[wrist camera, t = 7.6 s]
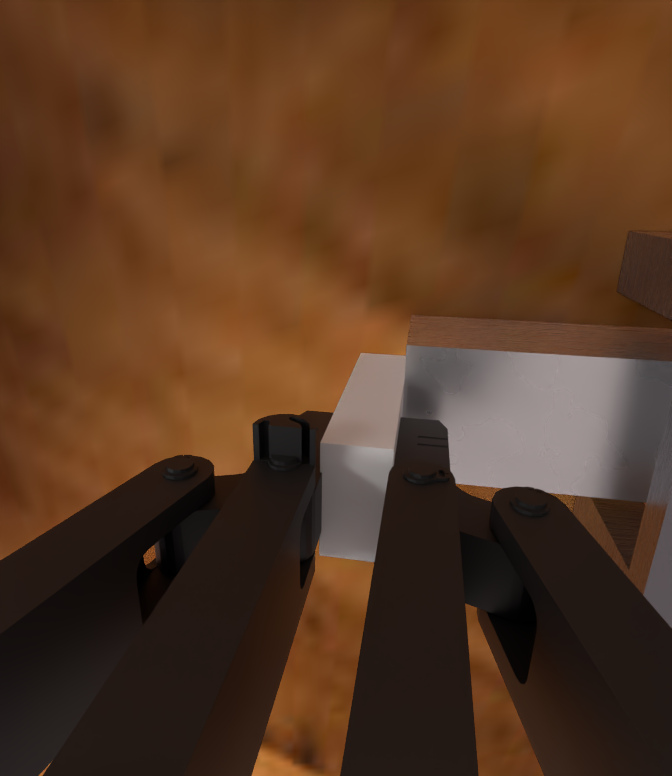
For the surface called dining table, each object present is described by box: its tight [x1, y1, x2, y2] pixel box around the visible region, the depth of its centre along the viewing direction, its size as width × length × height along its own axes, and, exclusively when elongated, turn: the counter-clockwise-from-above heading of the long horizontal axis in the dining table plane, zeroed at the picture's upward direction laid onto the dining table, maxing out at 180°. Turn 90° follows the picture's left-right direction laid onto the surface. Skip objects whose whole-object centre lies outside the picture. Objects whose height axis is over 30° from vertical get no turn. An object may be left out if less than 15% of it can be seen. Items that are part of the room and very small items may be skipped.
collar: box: [573, 231, 672, 628], centre depth 15 cm, size 2×10×6 cm, turn 179°
